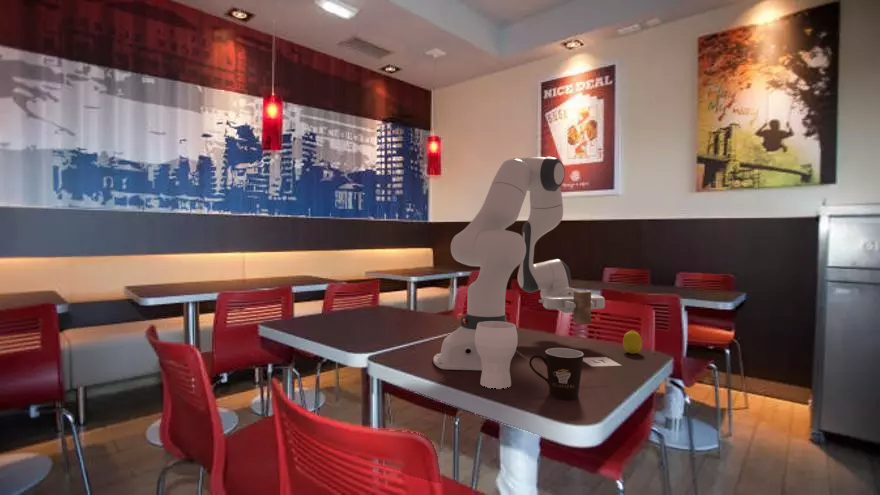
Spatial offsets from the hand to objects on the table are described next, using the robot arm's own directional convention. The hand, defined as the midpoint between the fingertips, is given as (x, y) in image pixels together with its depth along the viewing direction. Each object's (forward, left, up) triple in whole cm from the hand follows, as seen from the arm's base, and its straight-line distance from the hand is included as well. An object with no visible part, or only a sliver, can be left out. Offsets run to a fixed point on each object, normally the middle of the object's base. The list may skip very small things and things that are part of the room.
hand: (583, 305), depth 141 cm
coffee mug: (-22, -34, -15) cm, 44 cm away
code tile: (0, -11, -15) cm, 19 cm away
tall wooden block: (0, +1, -5) cm, 6 cm away
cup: (-35, -26, -16) cm, 46 cm away
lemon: (+15, -3, -15) cm, 22 cm away
